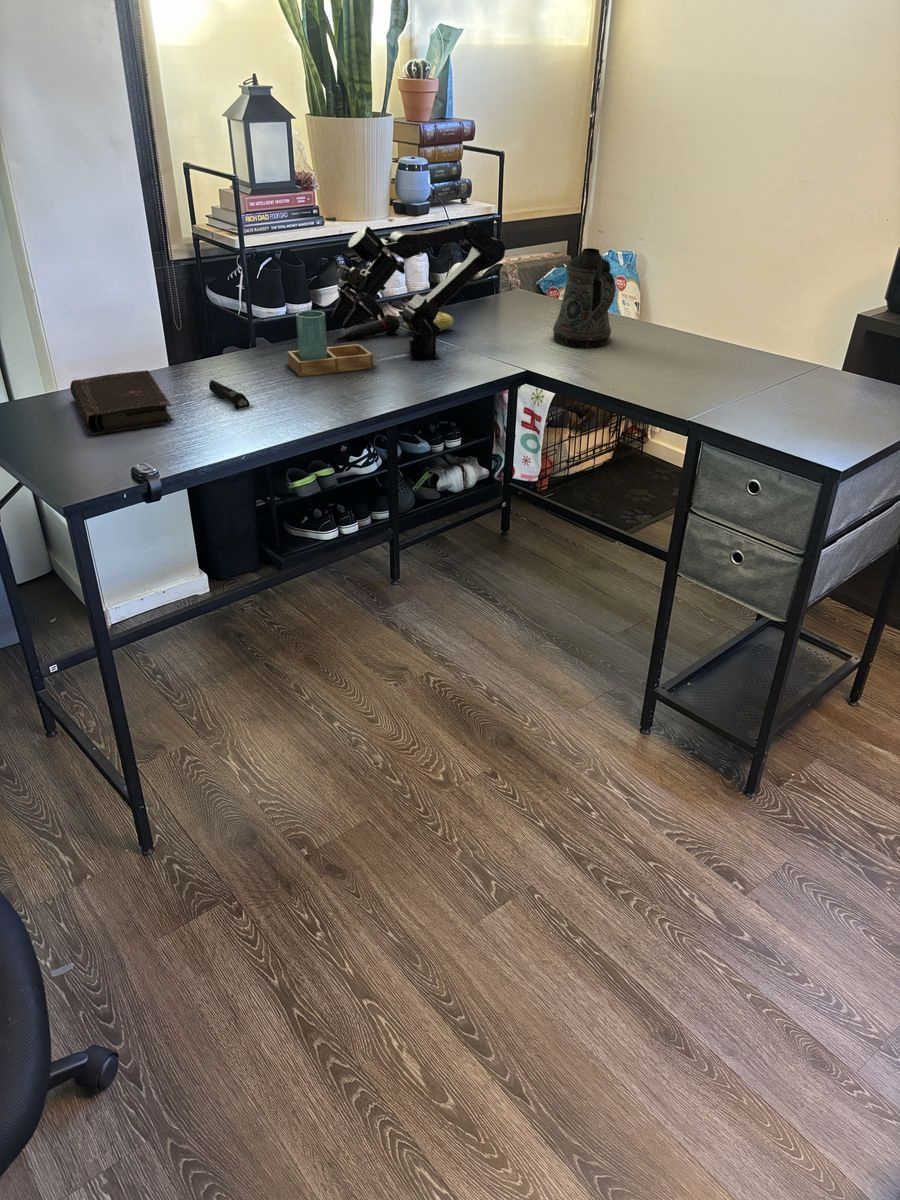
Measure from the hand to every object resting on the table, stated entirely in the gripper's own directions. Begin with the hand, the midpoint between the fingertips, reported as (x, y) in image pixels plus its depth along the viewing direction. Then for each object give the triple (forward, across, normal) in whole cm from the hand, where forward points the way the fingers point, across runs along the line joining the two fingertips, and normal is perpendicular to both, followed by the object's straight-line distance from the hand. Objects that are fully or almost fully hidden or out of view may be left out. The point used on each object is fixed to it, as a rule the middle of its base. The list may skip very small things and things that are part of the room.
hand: (338, 323), depth 226 cm
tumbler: (+12, 0, +2) cm, 12 cm away
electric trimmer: (+31, +16, -16) cm, 38 cm away
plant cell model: (-19, -23, +30) cm, 42 cm away
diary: (+47, +16, -32) cm, 59 cm away
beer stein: (-44, +3, +60) cm, 74 cm away
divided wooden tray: (+10, 0, +6) cm, 11 cm away
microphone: (-4, -24, +20) cm, 31 cm away
